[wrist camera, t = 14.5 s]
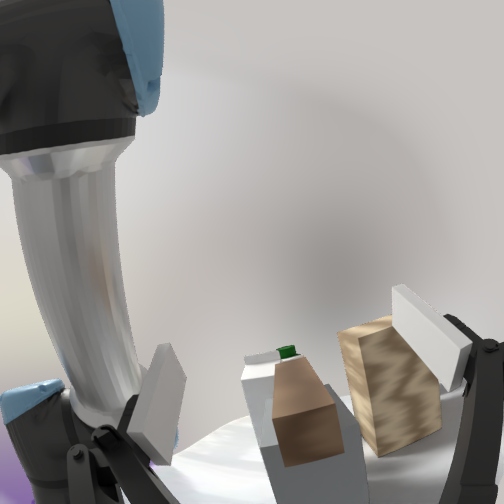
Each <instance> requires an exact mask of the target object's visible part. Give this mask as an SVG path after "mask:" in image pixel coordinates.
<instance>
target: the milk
mask: <svg viewBox="0 0 504 504" xmlns="http://www.w3.org/2000/svg"><path fill="white" fill-rule="evenodd" d="M244 360H245V365H246V366H245V369H244V372H243V374H242V377H241V383H242V387H243V391H244V395H245V399H246V402H247V406H248V409H249V413H250V417H251V421H252V424H253V428H254V431H255V435H256V438H257V442H258V445H259V449H260V443H261V435H262V428H263V420H264V412H265V404H266V399H270V398H273V391H274V373H275V364H278V363H282V362H284V361H283V360H281V358H280V353H279V351H278V350H275V351H270V352H265V353H259V354H254V355H248V356H245V357H244ZM260 452H261V450H260ZM261 455H262V454H261ZM262 459H263V457H262ZM263 462H264V460H263ZM264 465H265V464H264ZM265 469H266V467H265ZM266 472H267V470H266ZM267 475H268V474H267Z"/></svg>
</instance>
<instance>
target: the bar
mask: <svg viewBox="0 0 504 504" xmlns="http://www.w3.org/2000/svg"><path fill="white" fill-rule="evenodd" d="M272 422H273V425H274V429H275V433H276V437H277V441H278V444H279V448H280V452H281V455H282V459H283V463H284V466H285V468H286V467H291V466H296V465H301V464H305V463H310V462H314V461H318V460H321V459H325V458H329V457H332V456H336V455H339V454H343V453H345V451H344V445H343V440H342V434H341V429H340V424H339V419H338V414H337V409H336V404H335V402H334V400H333V399H332V397H331V396H330V394H329V392H328V391H327V389H326V388H325V386H324V385H323V383H322V382H321V381H320V379H319V377H318V376H317V374H316V373H315V371H314V370H313V368H312V366H311V365H310V363H309V362H308V360H307V359H306V357H302V358H298V359H294V360H290V361H286V362H282V363H278V364H275V373H274V391H273V408H272Z"/></svg>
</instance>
